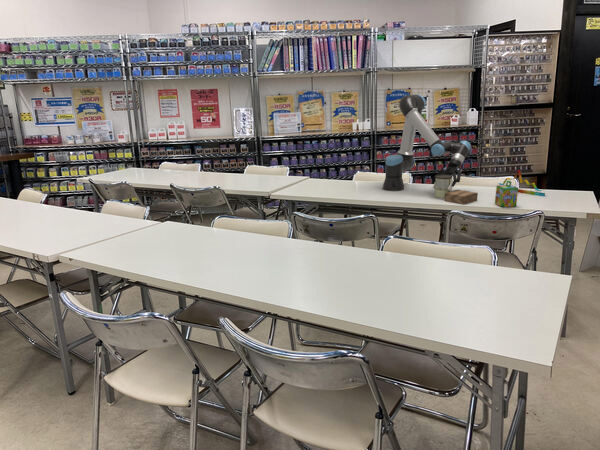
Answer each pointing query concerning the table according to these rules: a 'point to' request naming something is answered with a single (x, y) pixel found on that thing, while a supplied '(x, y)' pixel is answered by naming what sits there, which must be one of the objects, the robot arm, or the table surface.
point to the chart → (527, 184)
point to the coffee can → (442, 185)
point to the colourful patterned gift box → (506, 195)
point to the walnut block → (461, 196)
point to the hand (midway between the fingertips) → (441, 189)
